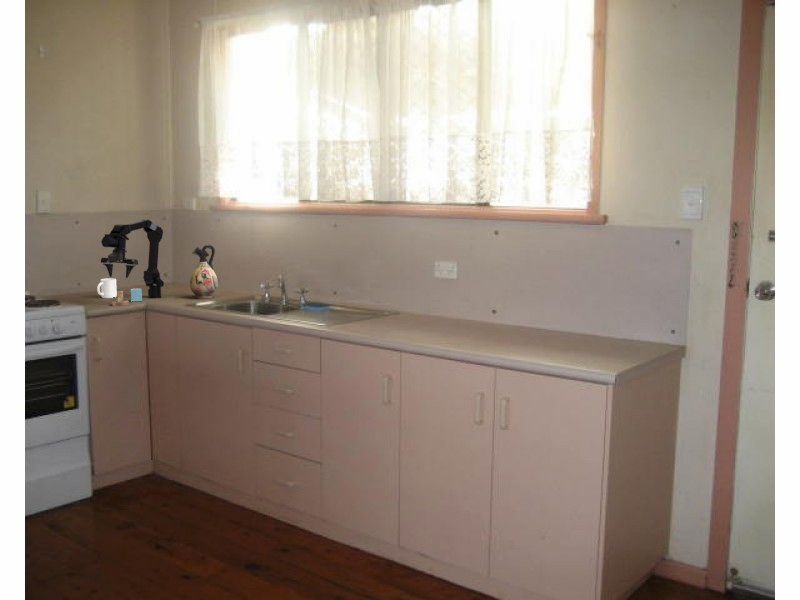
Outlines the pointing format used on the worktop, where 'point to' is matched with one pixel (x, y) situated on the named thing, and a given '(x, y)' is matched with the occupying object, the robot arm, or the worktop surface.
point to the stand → (120, 300)
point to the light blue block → (136, 294)
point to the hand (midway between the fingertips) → (118, 277)
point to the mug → (107, 288)
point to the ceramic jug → (204, 275)
